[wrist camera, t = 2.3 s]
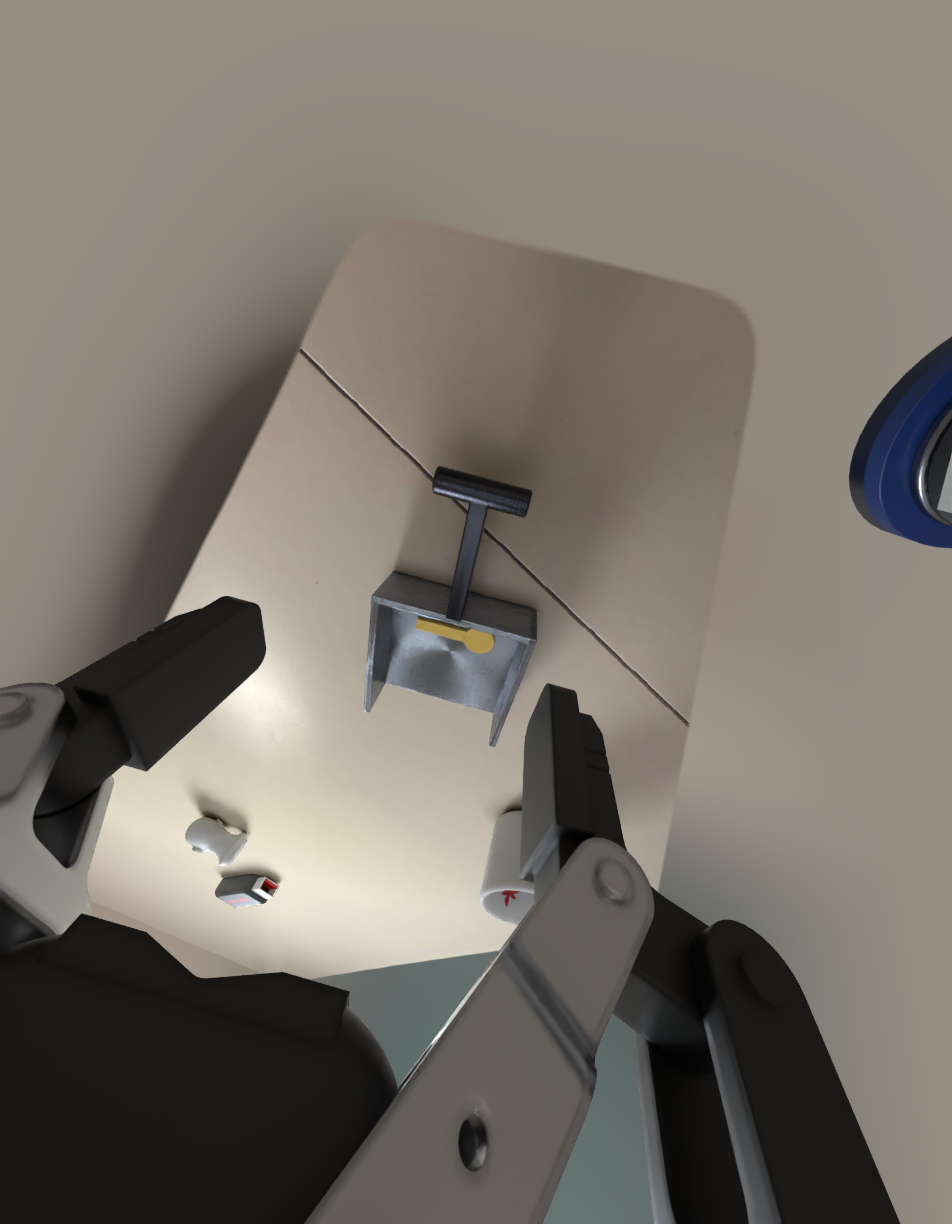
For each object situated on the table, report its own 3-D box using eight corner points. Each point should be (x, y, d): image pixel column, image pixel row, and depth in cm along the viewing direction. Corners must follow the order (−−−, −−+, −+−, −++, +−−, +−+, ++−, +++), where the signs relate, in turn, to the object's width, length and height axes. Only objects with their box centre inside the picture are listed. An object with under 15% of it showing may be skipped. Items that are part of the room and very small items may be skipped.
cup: (595, 830, 38) (608, 921, 31) (556, 857, 42) (560, 944, 35) (509, 792, 37) (503, 879, 30) (477, 824, 41) (466, 907, 34)
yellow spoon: (498, 629, 26) (497, 632, 26) (490, 653, 27) (490, 656, 27) (419, 608, 26) (418, 611, 26) (415, 633, 28) (414, 636, 27)
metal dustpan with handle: (581, 490, 21) (592, 509, 17) (499, 710, 31) (493, 754, 27) (406, 443, 21) (376, 452, 17) (382, 678, 31) (359, 717, 27)
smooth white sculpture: (203, 809, 52) (204, 809, 49) (249, 836, 54) (253, 837, 51) (176, 840, 50) (175, 842, 46) (225, 867, 51) (228, 871, 48)
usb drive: (222, 879, 63) (209, 897, 60) (262, 872, 58) (250, 891, 56) (243, 893, 65) (233, 911, 62) (284, 887, 60) (274, 906, 58)
